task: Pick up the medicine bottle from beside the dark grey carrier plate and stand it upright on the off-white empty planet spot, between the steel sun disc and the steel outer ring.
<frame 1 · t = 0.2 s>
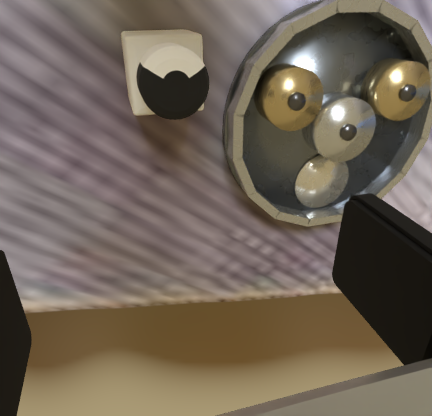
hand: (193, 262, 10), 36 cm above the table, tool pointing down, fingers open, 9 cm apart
medicine bottle: (157, 65, 41), on the table
carrier: (325, 120, 50), on the table
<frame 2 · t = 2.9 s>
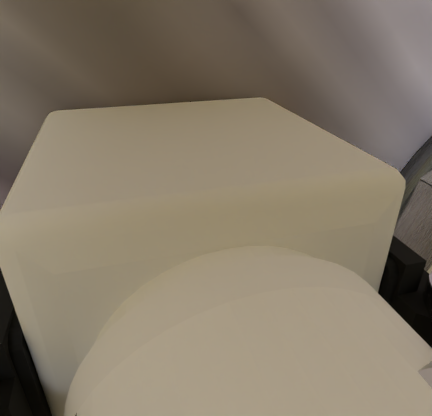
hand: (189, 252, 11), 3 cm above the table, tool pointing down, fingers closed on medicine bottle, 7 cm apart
medicine bottle: (169, 197, 14), on the table, touching gripper
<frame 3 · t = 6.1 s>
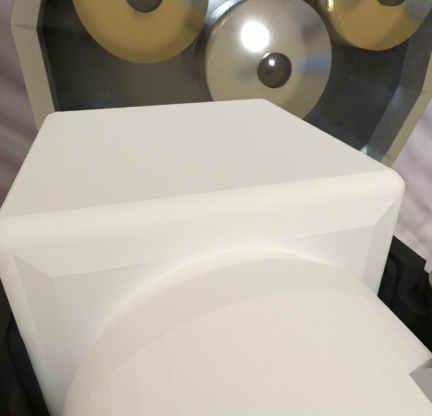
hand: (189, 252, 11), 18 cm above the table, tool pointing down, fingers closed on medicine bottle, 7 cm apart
medicine bottle: (168, 199, 14), point 15 cm above the table, touching gripper
carrier: (244, 59, 27), on the table
when the fingers open (6 cm above the table, at t = 9.6 s): medicine bottle drops 1 cm, resting on carrier.
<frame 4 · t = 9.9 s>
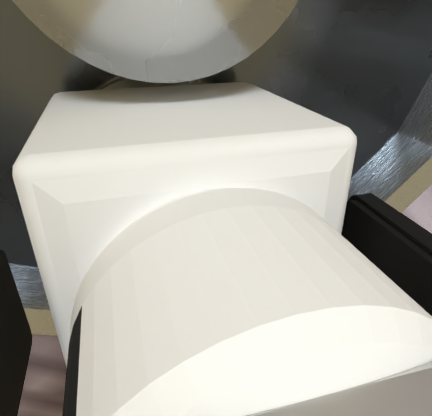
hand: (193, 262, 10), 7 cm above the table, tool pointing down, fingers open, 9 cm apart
medicine bottle: (162, 175, 15), point 1 cm above the table, touching carrier
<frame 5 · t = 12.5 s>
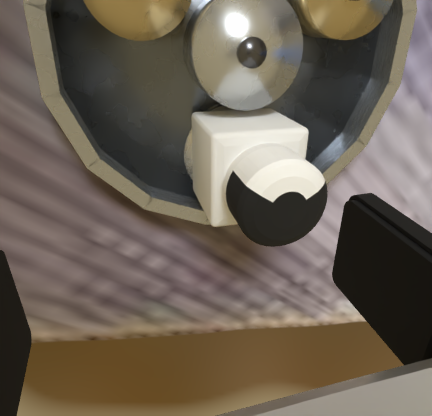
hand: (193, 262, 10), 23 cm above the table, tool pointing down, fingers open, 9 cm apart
medicine bottle: (230, 149, 33), point 1 cm above the table, touching carrier
carrier: (229, 47, 30), on the table
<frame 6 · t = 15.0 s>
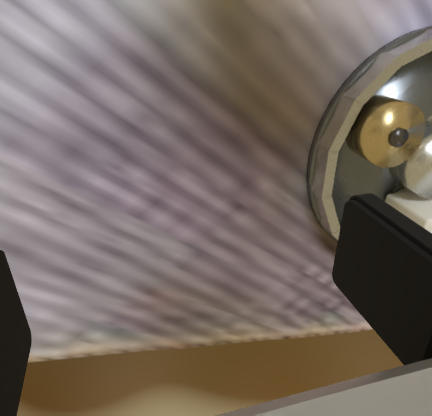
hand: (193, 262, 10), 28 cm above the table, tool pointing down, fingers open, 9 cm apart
medicine bottle: (401, 213, 50), point 1 cm above the table, touching carrier
carrier: (411, 152, 47), on the table
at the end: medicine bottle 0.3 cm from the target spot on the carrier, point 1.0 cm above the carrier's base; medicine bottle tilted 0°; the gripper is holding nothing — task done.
